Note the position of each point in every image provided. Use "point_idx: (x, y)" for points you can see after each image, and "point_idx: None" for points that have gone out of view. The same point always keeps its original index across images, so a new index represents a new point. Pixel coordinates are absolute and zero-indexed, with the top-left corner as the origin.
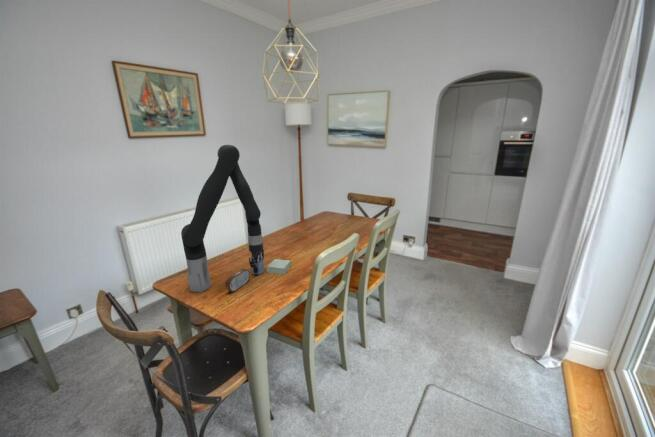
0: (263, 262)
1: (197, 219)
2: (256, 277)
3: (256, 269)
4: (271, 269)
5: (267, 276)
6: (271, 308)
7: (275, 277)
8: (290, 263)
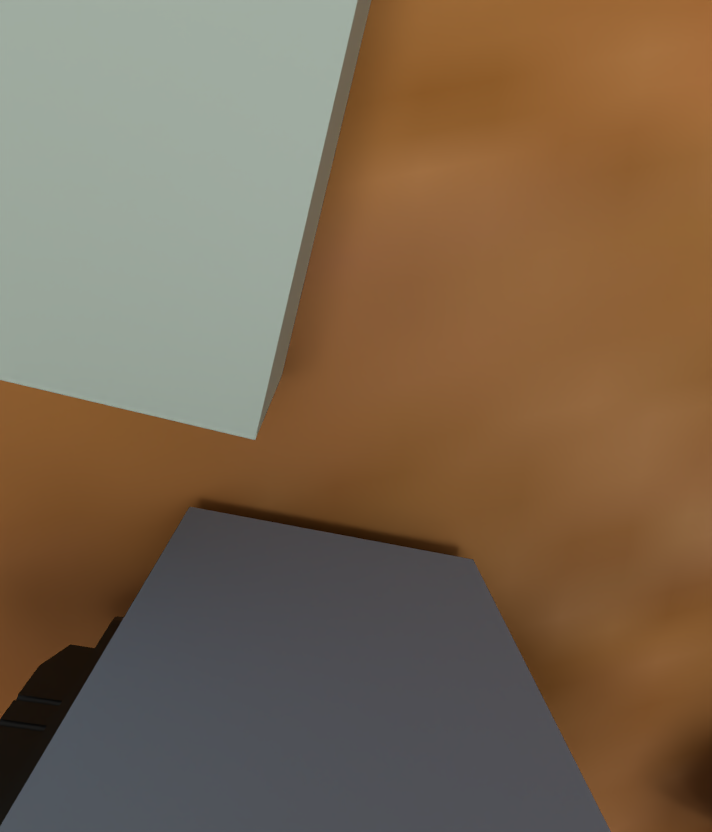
0: (63, 765)
1: None
2: (567, 618)
3: None
4: (315, 205)
5: (550, 323)
6: None
7: (661, 12)
8: None
